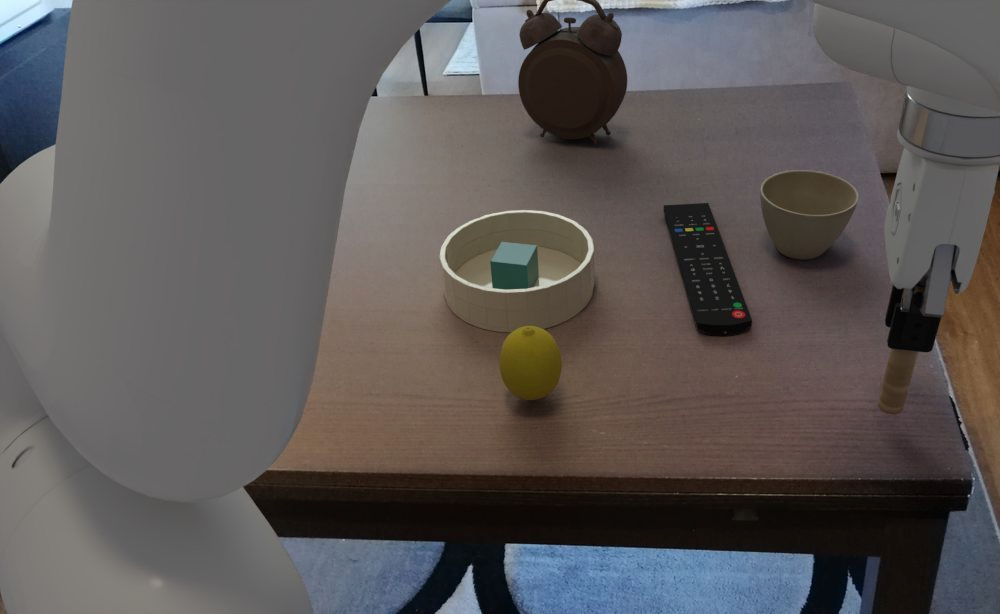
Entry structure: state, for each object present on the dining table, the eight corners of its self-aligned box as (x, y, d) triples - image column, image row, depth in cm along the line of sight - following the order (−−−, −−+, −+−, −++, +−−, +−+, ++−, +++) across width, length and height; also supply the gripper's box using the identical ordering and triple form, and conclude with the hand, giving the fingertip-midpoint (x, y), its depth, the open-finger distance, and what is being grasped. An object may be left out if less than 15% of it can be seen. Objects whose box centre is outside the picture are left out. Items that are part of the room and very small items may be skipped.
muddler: (903, 416, 72) (938, 288, 65) (878, 413, 73) (909, 285, 65) (902, 400, 74) (935, 273, 66) (876, 397, 74) (906, 270, 67)
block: (528, 297, 92) (526, 265, 90) (492, 292, 93) (490, 261, 91) (538, 276, 95) (537, 245, 93) (503, 272, 96) (501, 241, 94)
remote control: (707, 212, 105) (708, 202, 104) (752, 334, 85) (753, 323, 85) (663, 215, 105) (663, 205, 104) (697, 337, 86) (698, 326, 85)
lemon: (567, 380, 82) (564, 312, 77) (556, 421, 77) (553, 351, 73) (509, 375, 83) (504, 307, 78) (496, 414, 79) (489, 345, 74)
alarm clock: (631, 132, 124) (633, -11, 113) (614, 154, 119) (615, 6, 107) (537, 120, 130) (530, -18, 118) (517, 140, 125) (508, -2, 113)
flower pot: (756, 271, 94) (764, 213, 90) (751, 224, 102) (757, 168, 98) (854, 274, 92) (866, 215, 88) (840, 226, 100) (851, 170, 96)
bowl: (576, 341, 86) (575, 300, 84) (423, 323, 91) (417, 283, 88) (606, 254, 99) (606, 216, 96) (470, 241, 103) (466, 204, 100)
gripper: (892, 73, 65) (852, 277, 76) (911, 172, 53) (860, 398, 64) (1004, 76, 63) (947, 285, 74) (1050, 180, 51) (973, 412, 62)
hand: (907, 336), depth 69 cm, fingers closed on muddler, 2 cm apart
